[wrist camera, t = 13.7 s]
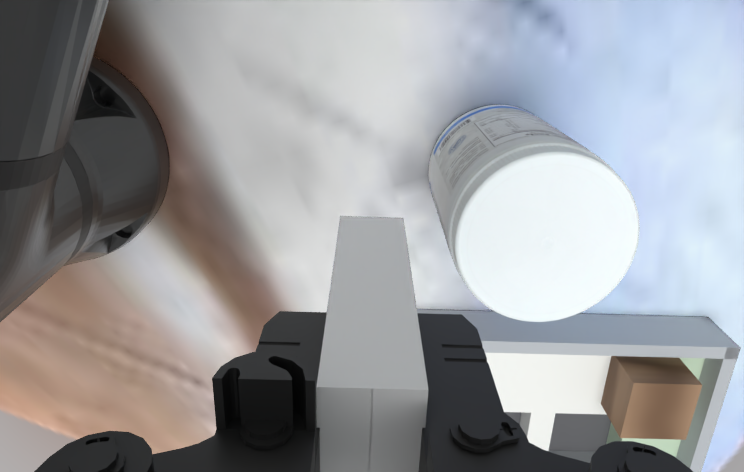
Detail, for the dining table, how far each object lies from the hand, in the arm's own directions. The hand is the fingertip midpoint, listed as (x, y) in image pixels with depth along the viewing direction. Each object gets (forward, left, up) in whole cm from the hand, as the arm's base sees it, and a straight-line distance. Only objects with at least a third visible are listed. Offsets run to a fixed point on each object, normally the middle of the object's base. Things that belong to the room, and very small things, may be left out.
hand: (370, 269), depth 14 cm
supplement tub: (+9, -5, -29) cm, 30 cm away
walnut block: (+22, -21, -26) cm, 40 cm away
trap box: (+13, -25, -28) cm, 40 cm away
